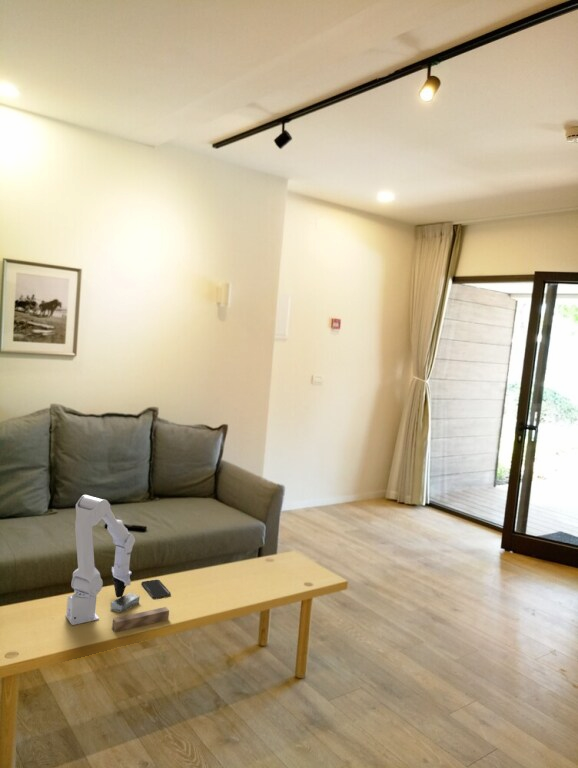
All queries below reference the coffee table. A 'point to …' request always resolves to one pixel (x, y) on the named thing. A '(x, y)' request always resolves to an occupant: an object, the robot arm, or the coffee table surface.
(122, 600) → the plate block
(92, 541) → the robot arm
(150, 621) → the walnut bar
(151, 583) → the phone
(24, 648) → the coffee table surface
